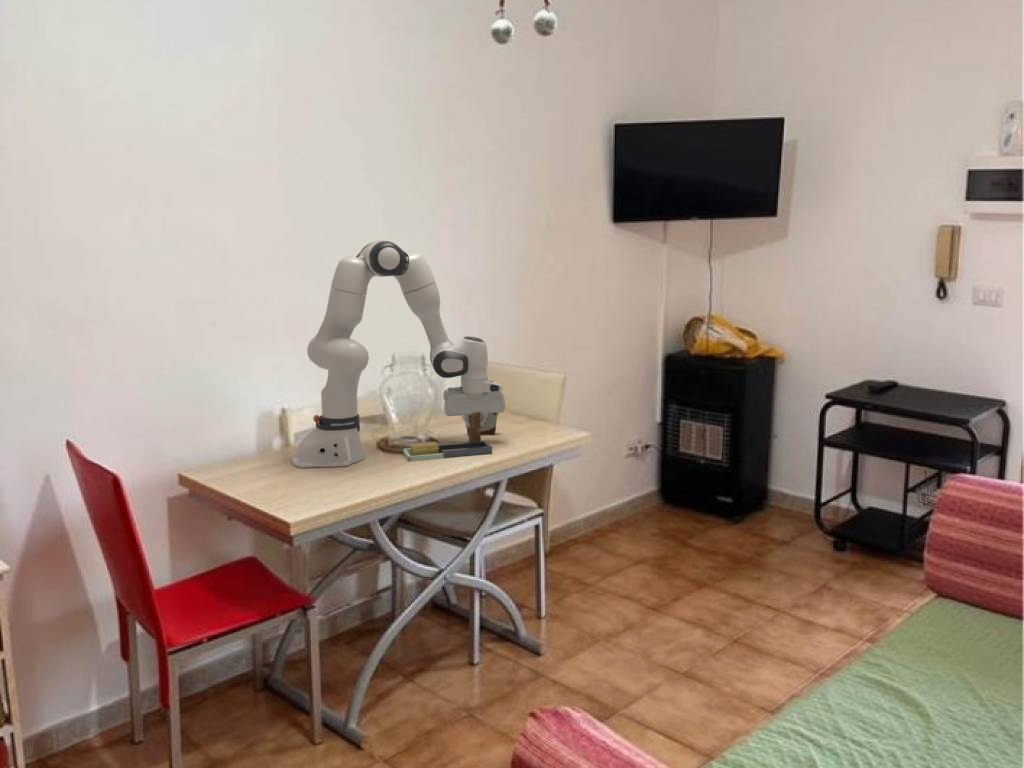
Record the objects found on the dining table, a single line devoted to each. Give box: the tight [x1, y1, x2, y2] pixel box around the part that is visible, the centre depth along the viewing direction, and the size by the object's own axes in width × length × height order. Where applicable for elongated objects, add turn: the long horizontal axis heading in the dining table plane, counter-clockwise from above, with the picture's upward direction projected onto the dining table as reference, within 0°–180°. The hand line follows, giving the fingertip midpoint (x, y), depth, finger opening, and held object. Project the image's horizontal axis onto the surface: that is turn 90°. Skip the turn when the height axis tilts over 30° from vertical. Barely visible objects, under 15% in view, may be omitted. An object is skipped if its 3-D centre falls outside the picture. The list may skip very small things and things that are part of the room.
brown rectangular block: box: [468, 412, 482, 442], centre depth 307 cm, size 3×4×11 cm
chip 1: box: [410, 442, 426, 456], centre depth 293 cm, size 4×4×4 cm
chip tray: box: [402, 447, 445, 462], centre depth 294 cm, size 11×10×2 cm
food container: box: [466, 413, 500, 436], centre depth 321 cm, size 12×6×10 cm, turn 84°
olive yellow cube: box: [423, 441, 439, 455], centre depth 294 cm, size 4×4×4 cm
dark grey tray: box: [438, 440, 493, 459], centre depth 298 cm, size 16×10×3 cm, turn 107°
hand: (474, 427), depth 307 cm, fingers closed on brown rectangular block, 3 cm apart
